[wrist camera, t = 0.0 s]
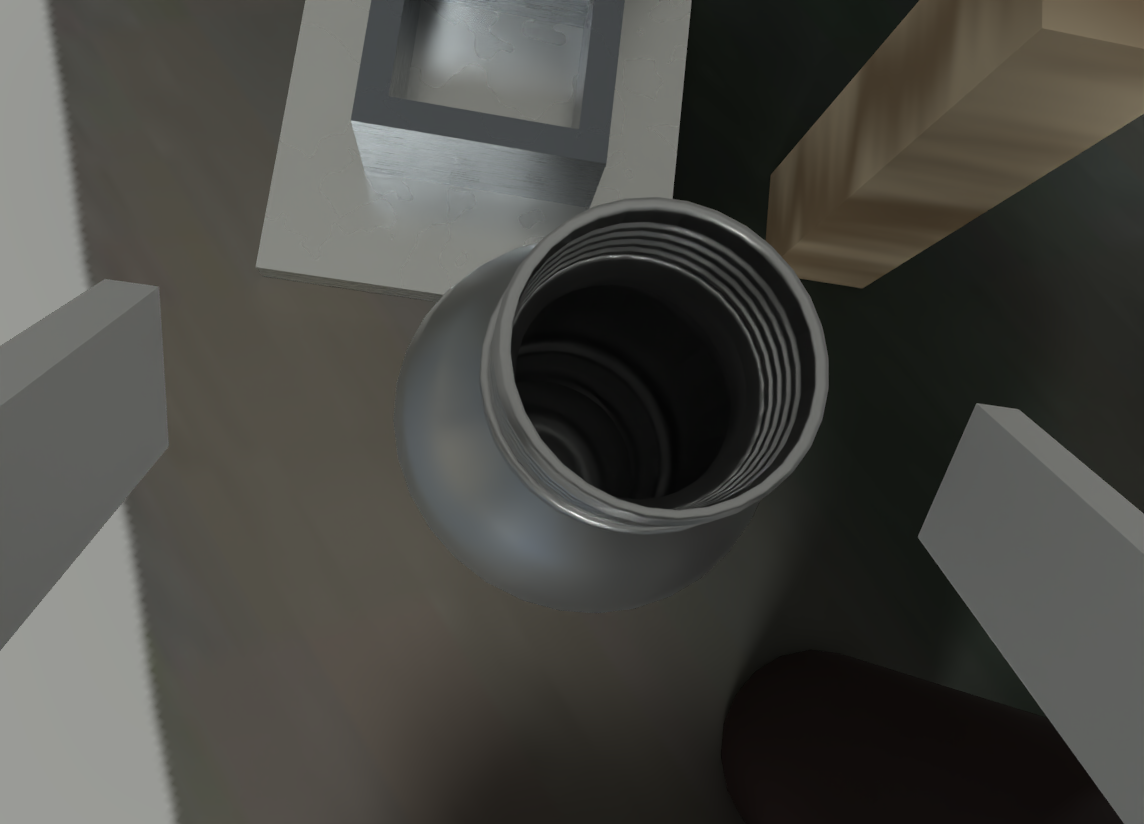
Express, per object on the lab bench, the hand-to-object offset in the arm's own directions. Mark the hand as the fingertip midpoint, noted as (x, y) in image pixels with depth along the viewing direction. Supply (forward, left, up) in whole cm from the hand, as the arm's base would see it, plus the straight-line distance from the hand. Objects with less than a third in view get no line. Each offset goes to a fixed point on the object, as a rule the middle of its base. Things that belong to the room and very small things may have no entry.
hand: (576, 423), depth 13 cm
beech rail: (+11, -10, -15) cm, 22 cm away
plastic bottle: (0, 0, -16) cm, 15 cm away
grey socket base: (+14, +3, -15) cm, 21 cm away
